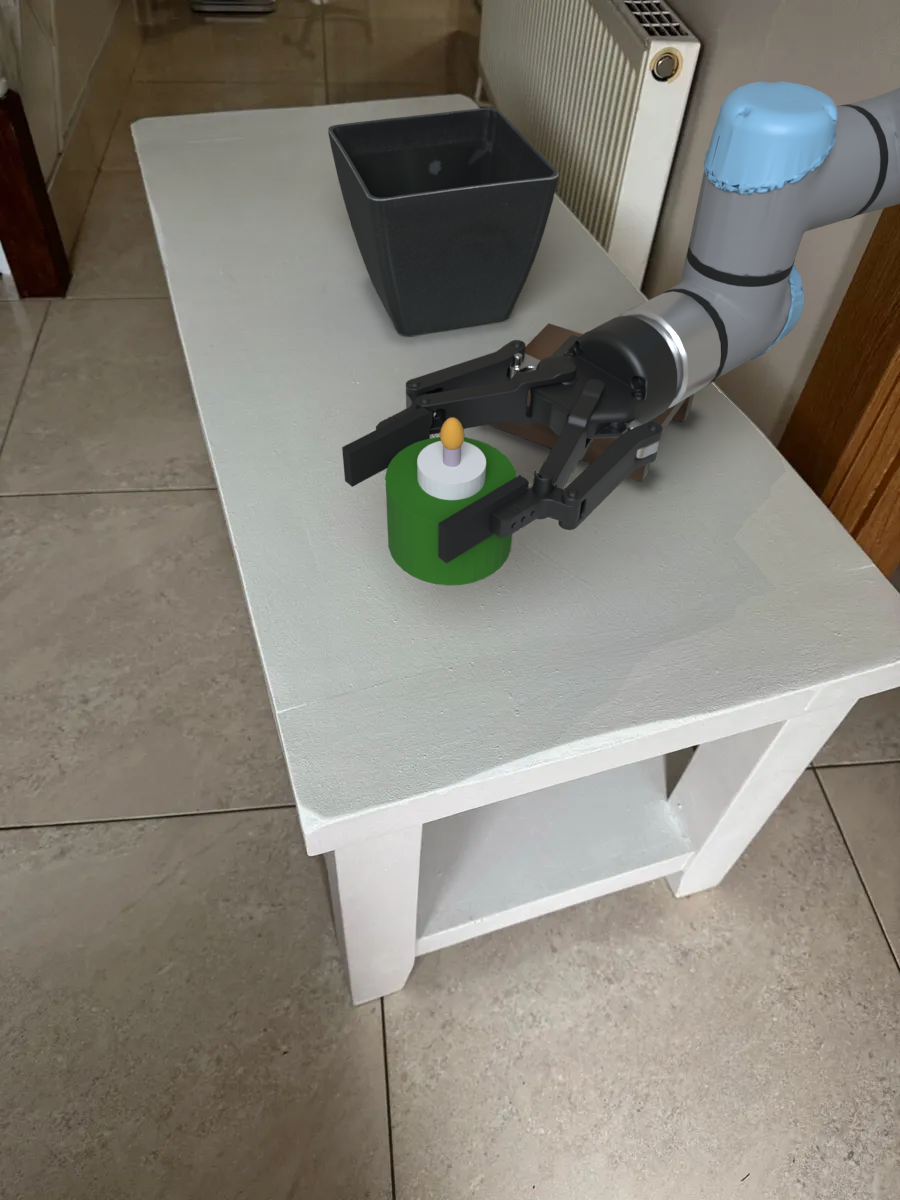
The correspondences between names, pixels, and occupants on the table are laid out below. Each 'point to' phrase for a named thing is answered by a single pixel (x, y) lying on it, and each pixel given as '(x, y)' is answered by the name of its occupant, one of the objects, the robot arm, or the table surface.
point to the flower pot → (444, 213)
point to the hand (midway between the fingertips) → (393, 503)
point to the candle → (443, 504)
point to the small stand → (541, 347)
